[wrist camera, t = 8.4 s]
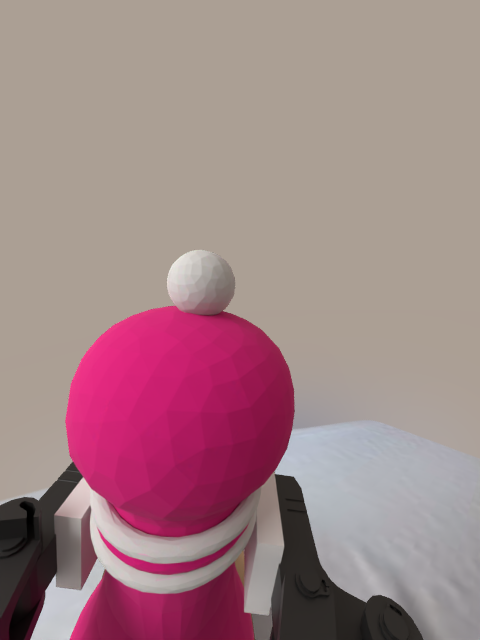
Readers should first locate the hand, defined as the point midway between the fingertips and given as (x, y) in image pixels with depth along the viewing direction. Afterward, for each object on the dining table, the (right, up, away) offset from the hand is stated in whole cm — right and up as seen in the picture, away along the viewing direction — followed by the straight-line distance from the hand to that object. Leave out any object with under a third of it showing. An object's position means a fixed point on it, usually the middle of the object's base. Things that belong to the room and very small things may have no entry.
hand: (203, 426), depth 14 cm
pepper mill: (-2, -12, -3) cm, 12 cm away
